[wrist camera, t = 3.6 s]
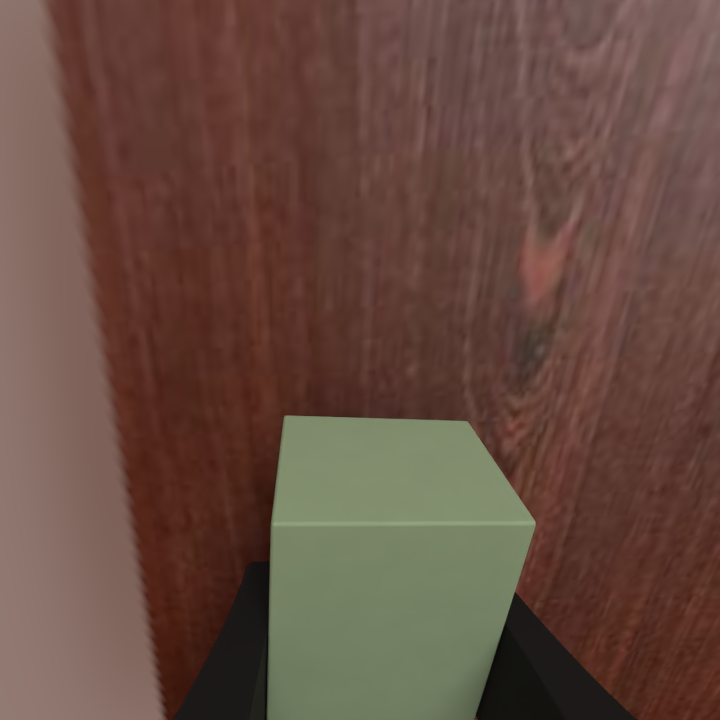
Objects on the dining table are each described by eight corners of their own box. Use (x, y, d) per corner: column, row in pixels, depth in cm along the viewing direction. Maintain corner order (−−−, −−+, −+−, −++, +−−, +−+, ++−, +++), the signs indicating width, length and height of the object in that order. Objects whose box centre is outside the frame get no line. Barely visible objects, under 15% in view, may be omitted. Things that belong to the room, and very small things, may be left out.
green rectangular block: (275, 647, 13) (264, 802, 10) (283, 413, 10) (270, 524, 7) (420, 640, 13) (455, 784, 10) (467, 419, 10) (538, 523, 7)
